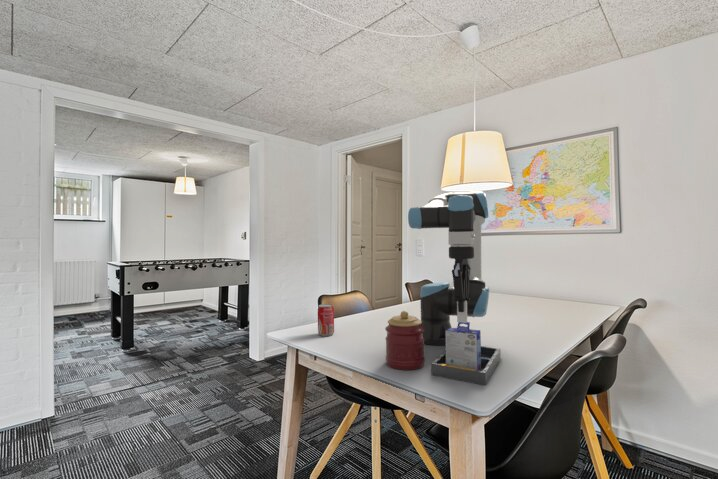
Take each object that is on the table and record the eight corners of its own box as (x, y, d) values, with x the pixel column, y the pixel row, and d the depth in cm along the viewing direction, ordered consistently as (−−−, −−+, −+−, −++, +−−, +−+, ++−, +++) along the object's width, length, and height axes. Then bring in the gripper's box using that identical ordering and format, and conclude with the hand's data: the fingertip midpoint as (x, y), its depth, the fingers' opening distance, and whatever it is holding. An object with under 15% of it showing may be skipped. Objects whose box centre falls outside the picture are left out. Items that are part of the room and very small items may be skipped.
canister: (425, 371, 112) (424, 315, 112) (383, 369, 114) (383, 314, 114) (424, 358, 125) (423, 307, 125) (387, 356, 127) (386, 307, 127)
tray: (431, 375, 109) (431, 363, 109) (454, 351, 131) (454, 341, 131) (485, 385, 101) (485, 372, 101) (500, 358, 123) (500, 348, 123)
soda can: (337, 333, 158) (337, 304, 158) (327, 337, 152) (327, 307, 152) (324, 331, 162) (324, 303, 162) (314, 335, 156) (314, 305, 156)
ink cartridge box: (482, 369, 111) (481, 322, 111) (478, 375, 106) (477, 326, 106) (450, 363, 116) (449, 319, 116) (445, 369, 111) (444, 322, 111)
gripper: (468, 246, 103) (469, 327, 103) (478, 245, 114) (479, 318, 114) (442, 246, 107) (443, 325, 107) (455, 245, 118) (456, 316, 118)
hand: (462, 321), depth 111 cm, fingers closed
